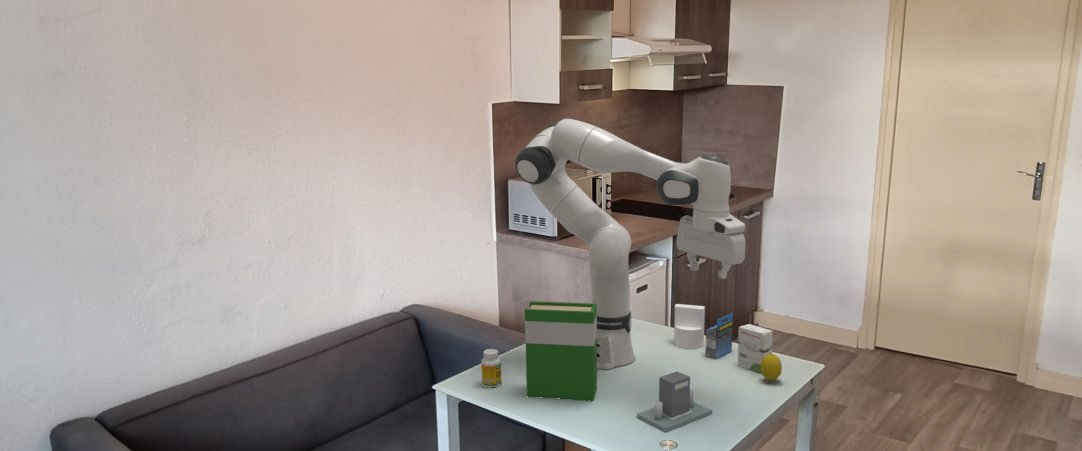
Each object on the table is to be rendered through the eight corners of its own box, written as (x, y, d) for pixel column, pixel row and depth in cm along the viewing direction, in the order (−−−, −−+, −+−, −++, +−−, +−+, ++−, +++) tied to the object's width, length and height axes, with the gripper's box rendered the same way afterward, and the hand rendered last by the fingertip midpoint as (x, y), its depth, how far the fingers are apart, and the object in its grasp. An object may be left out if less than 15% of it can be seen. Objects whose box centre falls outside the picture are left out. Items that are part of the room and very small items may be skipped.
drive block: (672, 417, 193) (672, 383, 191) (658, 411, 197) (659, 377, 195) (689, 411, 197) (690, 377, 195) (676, 404, 200) (676, 371, 198)
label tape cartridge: (720, 348, 241) (722, 309, 238) (732, 351, 238) (733, 312, 236) (704, 356, 235) (705, 316, 232) (716, 359, 232) (717, 319, 230)
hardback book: (526, 397, 209) (524, 309, 204) (532, 385, 216) (530, 301, 211) (593, 401, 206) (593, 312, 201) (596, 389, 213) (596, 303, 208)
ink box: (772, 369, 224) (774, 330, 222) (761, 374, 221) (763, 334, 218) (747, 361, 231) (748, 322, 228) (736, 365, 227) (737, 326, 225)
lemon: (777, 387, 213) (779, 358, 211) (757, 382, 215) (758, 354, 214) (783, 379, 217) (785, 352, 215) (763, 375, 220) (764, 348, 218)
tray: (665, 432, 188) (666, 412, 187) (636, 417, 196) (637, 398, 195) (712, 413, 198) (712, 395, 196) (682, 400, 205) (683, 382, 204)
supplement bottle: (485, 379, 221) (484, 347, 219) (504, 381, 220) (503, 348, 218) (479, 387, 216) (478, 354, 214) (498, 389, 214) (497, 355, 212)
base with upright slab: (671, 347, 243) (672, 309, 240) (677, 337, 251) (677, 300, 248) (701, 350, 240) (702, 312, 237) (705, 340, 248) (706, 303, 245)
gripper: (672, 215, 206) (670, 267, 209) (733, 229, 190) (730, 285, 193) (689, 212, 210) (687, 263, 213) (750, 226, 193) (747, 281, 196)
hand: (708, 273), depth 202 cm, fingers open, 8 cm apart
